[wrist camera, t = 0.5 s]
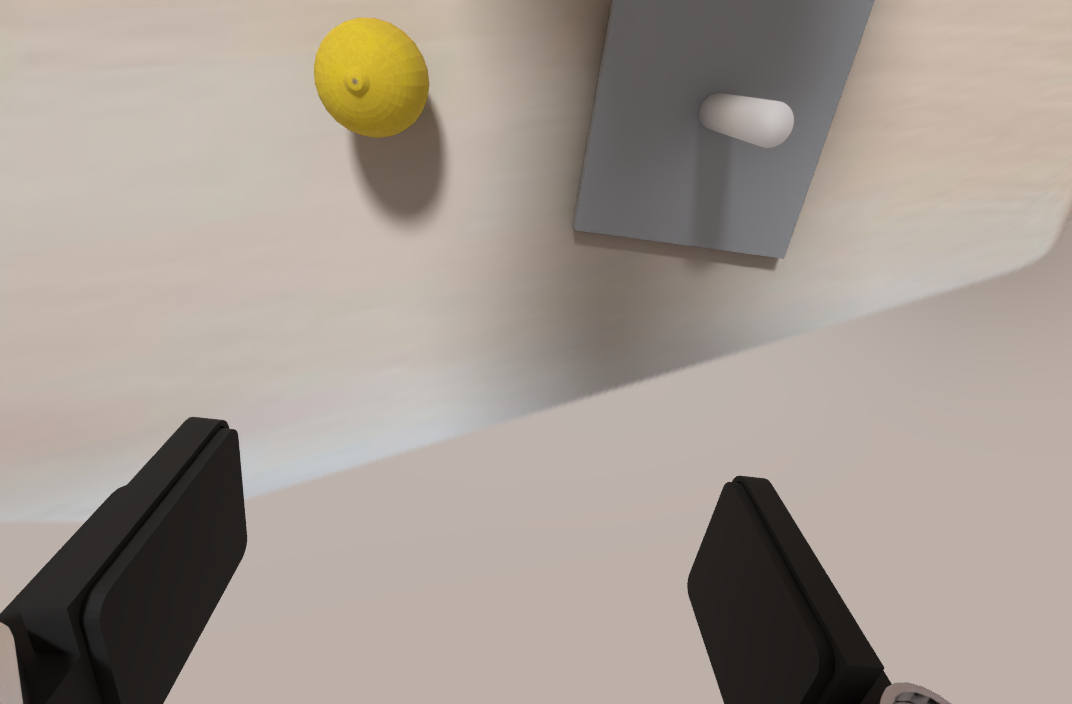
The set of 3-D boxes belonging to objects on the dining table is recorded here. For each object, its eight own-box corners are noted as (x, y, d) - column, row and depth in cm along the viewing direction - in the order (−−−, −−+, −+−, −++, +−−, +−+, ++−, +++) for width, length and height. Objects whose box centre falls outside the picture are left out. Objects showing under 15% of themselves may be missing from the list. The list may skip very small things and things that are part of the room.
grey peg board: (624, -74, 30) (667, -125, 22) (872, -27, 31) (999, -58, 23) (572, 225, 37) (589, 271, 29) (776, 253, 38) (847, 304, 30)
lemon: (456, 72, 33) (440, 75, 26) (400, 149, 35) (371, 171, 28) (375, -2, 31) (334, -21, 24) (320, 83, 33) (268, 88, 26)
